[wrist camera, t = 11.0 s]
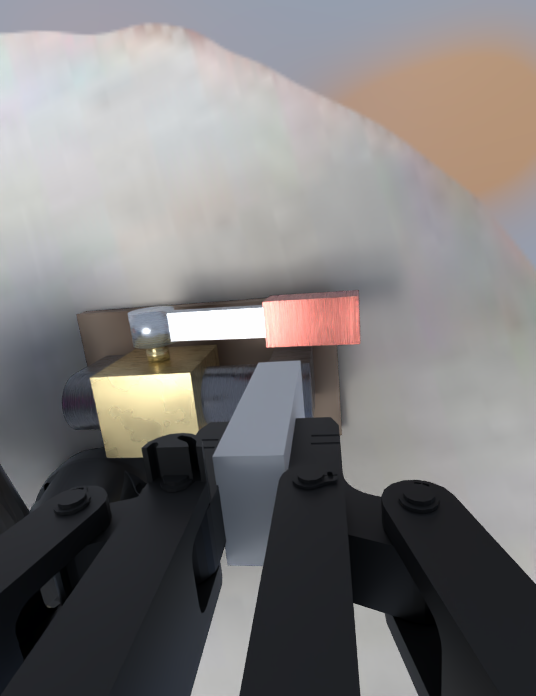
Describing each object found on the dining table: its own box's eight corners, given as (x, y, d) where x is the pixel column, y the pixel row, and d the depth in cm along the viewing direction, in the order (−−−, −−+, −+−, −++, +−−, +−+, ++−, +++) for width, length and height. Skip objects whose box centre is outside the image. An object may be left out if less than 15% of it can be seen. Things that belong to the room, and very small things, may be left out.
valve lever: (125, 353, 30) (360, 345, 26) (117, 311, 29) (358, 296, 25) (147, 341, 33) (360, 332, 29) (140, 303, 32) (358, 289, 28)
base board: (111, 433, 41) (103, 440, 40) (85, 311, 38) (76, 314, 37) (341, 427, 38) (341, 435, 36) (334, 293, 35) (334, 295, 33)
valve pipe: (117, 410, 39) (61, 458, 30) (102, 335, 37) (38, 366, 29) (316, 403, 36) (313, 454, 28) (310, 322, 34) (305, 351, 26)
